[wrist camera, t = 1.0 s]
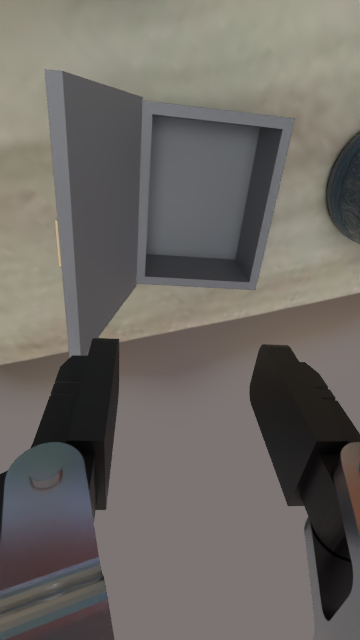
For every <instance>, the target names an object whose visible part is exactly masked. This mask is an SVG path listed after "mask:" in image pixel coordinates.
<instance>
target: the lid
mask: <svg viewBox="0 0 360 640" xmlns="http://www.w3.org/2000/svg"><path fill="white" fill-rule="evenodd" d="M45 78H46V90H47V101H48V113H49V125H50V136H51V148H52V160H53V171H54V183H55V195H56V206H57V218H58V219H56V220H55V225H56V236H57V247H58V258H59V267H62V276H63V288H64V299H65V311H66V323H67V334H68V346H69V356H70V357H71V356H72V355H80V356H85V354H86V353H87V352H88V350H89V349H90V346H91V342H92V339H93V338H98V337H99V335H100V334H101V333H102V331H103V330H104V329H105V327H106V326H107V325H108V323H109V322H110V321H111V319H112V318H113V317H114V315H115V314H116V312H117V311H118V310H119V308H120V307H121V306H122V304H123V303H124V302H125V300H126V299H127V298H128V296H129V295H130V294H131V292H132V291H133V290H134V288H135V287H136V276H137V246H138V216H139V186H140V156H141V126H142V97H140V96H137V95H134V94H131V93H128V92H125V91H122V90H119V89H116V88H113V87H110V86H107V85H103V84H100V83H97V82H94V81H91V80H88V79H85V78H82V77H79V76H76V75H73V74H70V73H67V72H64V71H56V70H46V69H45ZM70 357H69V358H70Z"/></svg>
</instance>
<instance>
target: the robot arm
mask: <svg viewBox="0 0 360 640" xmlns="http://www.w3.org/2000/svg"><path fill="white" fill-rule="evenodd" d="M118 394H119V339H104V338H93V339H92V342H91V346H90V350H89V354H88V356H80V355H72V356H71V357H70V358H69V359H68V360H67V361H66V362H65V363H64V364H63V365H62V366H61V367H60V369H59V372H58V375H57V378H56V380H55V384H54V386H53V389H52V392H51V396H50V397H49V400H48V403H47V405H46V408H45V411H44V414H43V417H42V420H41V422H40V425H39V428H38V430H37V433H36V436H35V439H34V442H33V444H32V446H31V448H30V449H29V450H27V451H25V452H24V453H23V454H22V455H20V456H19V457H18V458H17V459H16V460H15V461H14V463H13V464H12V465H11V467H10V468H9V470H8V471H6V472H4V473H2V474H0V640H114V634H113V627H112V621H111V615H110V609H109V603H108V597H107V592H106V585H105V581H104V576H103V574H102V571H101V566H100V560H99V554H98V548H97V541H96V535H95V528H94V517H95V510H106V505H107V495H108V487H109V478H110V469H111V459H112V450H113V441H114V431H115V423H116V413H117V405H118ZM250 401H251V405H252V408H253V411H254V413H255V416H256V419H257V421H258V424H259V427H260V430H261V433H262V436H263V438H264V441H265V444H266V447H267V449H268V452H269V455H270V457H271V460H272V463H273V466H274V469H275V471H276V474H277V477H278V480H279V482H280V485H281V488H282V491H283V493H284V496H285V499H286V502H287V505H288V506H305V509H306V511H307V514H308V518H307V520H306V522H305V527H304V534H305V542H306V551H307V560H308V569H309V578H310V586H311V595H312V604H313V612H314V638H313V640H360V434H359V432H358V431H357V430H356V428H355V426H354V425H353V423H352V422H351V420H350V419H349V417H348V416H347V414H346V413H345V412H344V410H343V408H342V407H341V406H340V404H339V403H338V401H335V397H334V395H333V394H332V392H331V391H330V390H328V386H327V385H326V383H325V382H324V380H323V379H322V377H321V376H320V374H319V373H317V372H316V371H315V370H314V369H313V368H311V367H310V366H309V365H307V364H306V363H305V362H299V361H298V359H297V358H296V356H295V355H294V353H293V351H292V350H291V348H290V347H289V346H288V345H266V344H264V345H262V346H261V347H260V349H259V352H258V356H257V360H256V364H255V367H254V371H253V375H252V379H251V383H250Z"/></svg>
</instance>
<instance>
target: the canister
mask: <svg viewBox="0 0 360 640" xmlns="http://www.w3.org/2000/svg"><path fill="white" fill-rule="evenodd" d="M327 205H328V210H329V213H330V216H331V218H332V220H333V221H334V223H335V224H336V226H337V227H338V229H339V230H340V231H341V232H342V233H343V234H344V235H345V236H347V237H348V238H350V239H351V240H353V241H355V242H357V243H359V244H360V132H359V133H358V134H357V135H356V136H355V137H354V138H353V139H352V140H351V141H350V142H349V143H348V144H347V145H346V147H345V148H344V149H343V151H342V152H341V154H340V155H339V157H338V158H337V160H336V162H335V164H334V166H333V169H332V171H331V174H330V177H329V181H328V187H327Z"/></svg>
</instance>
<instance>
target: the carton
mask: <svg viewBox="0 0 360 640" xmlns="http://www.w3.org/2000/svg"><path fill="white" fill-rule="evenodd" d="M294 121H295V118H286V117H278V116H269V115H261V114H253V113H244V112H236V111H227V110H219V109H210V108H202V107H193V106H185V105H177V104H168V103H160V102H151V101H143V100H142V127H141V156H140V187H139V217H138V246H137V277H136V284H152V285H170V286H189V287H207V288H225V289H244V290H256V285H257V281H258V277H259V272H260V268H261V264H262V259H263V255H264V251H265V246H266V242H267V238H268V233H269V229H270V225H271V220H272V216H273V212H274V207H275V203H276V199H277V194H278V190H279V186H280V181H281V177H282V173H283V168H284V164H285V160H286V155H287V151H288V147H289V142H290V138H291V134H292V129H293V125H294Z"/></svg>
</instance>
